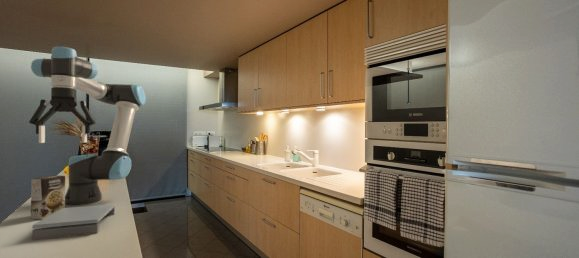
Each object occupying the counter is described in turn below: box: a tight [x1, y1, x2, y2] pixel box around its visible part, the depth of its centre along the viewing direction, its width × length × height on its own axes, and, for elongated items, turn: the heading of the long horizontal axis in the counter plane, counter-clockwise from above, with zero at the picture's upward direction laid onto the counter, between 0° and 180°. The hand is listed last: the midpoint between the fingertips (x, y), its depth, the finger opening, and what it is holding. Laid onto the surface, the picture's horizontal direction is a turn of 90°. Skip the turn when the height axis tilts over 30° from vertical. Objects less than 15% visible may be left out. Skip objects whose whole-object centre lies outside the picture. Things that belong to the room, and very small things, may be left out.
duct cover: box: [32, 203, 115, 230], centre depth 103 cm, size 22×18×1 cm
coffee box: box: [30, 175, 66, 220], centre depth 114 cm, size 9×6×16 cm
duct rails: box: [31, 206, 116, 241], centre depth 103 cm, size 23×18×3 cm
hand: (63, 142), depth 106 cm, fingers open, 13 cm apart
